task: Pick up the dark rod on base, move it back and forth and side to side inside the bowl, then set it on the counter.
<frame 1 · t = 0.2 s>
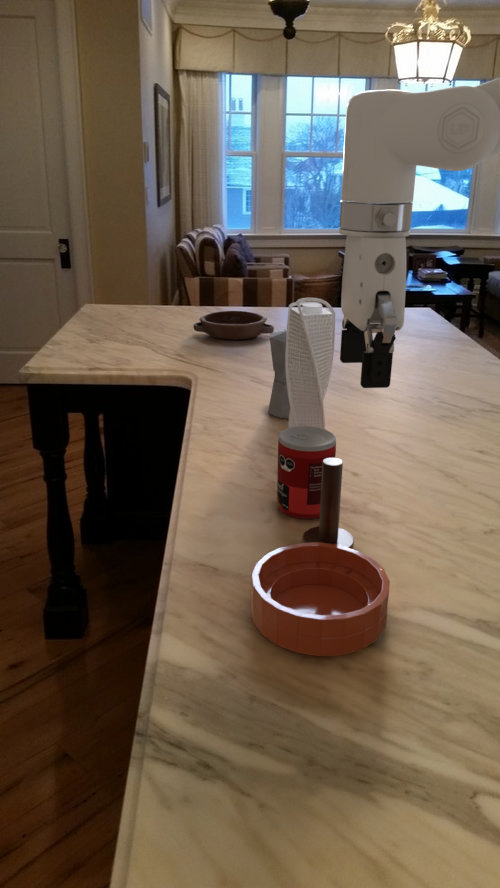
hand: (363, 373, 82), 23 cm above the kitchen island, tool pointing down, fingers open, 9 cm apart
skyscraper: (304, 471, 113), on the kitchen island
bowl: (318, 616, 77), on the kitchen island
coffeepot: (292, 414, 137), on the kitchen island
dark rod on base: (327, 555, 89), on the kitchen island
dish: (233, 335, 194), on the kitchen island
canned food: (304, 508, 101), on the kitchen island
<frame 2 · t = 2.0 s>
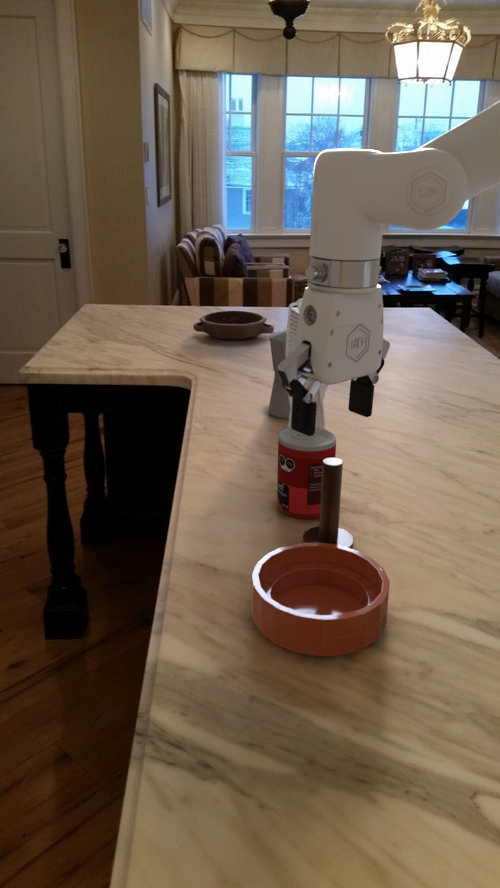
hand: (332, 422, 82), 18 cm above the kitchen island, tool pointing down, fingers open, 9 cm apart
nothing on the kitchen island moved.
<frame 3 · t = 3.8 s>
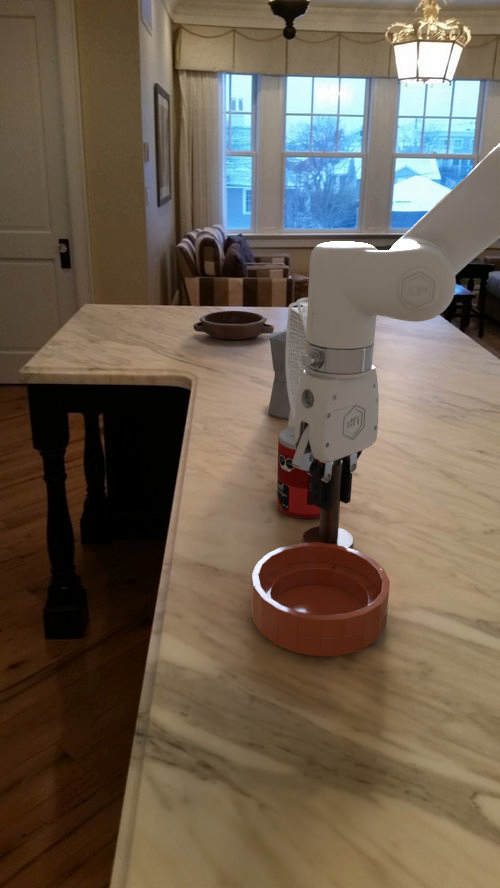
hand: (330, 501, 86), 8 cm above the kitchen island, tool pointing down, fingers closed on dark rod on base, 2 cm apart
dark rod on base: (327, 555, 89), on the kitchen island, touching gripper
everything else where it was.
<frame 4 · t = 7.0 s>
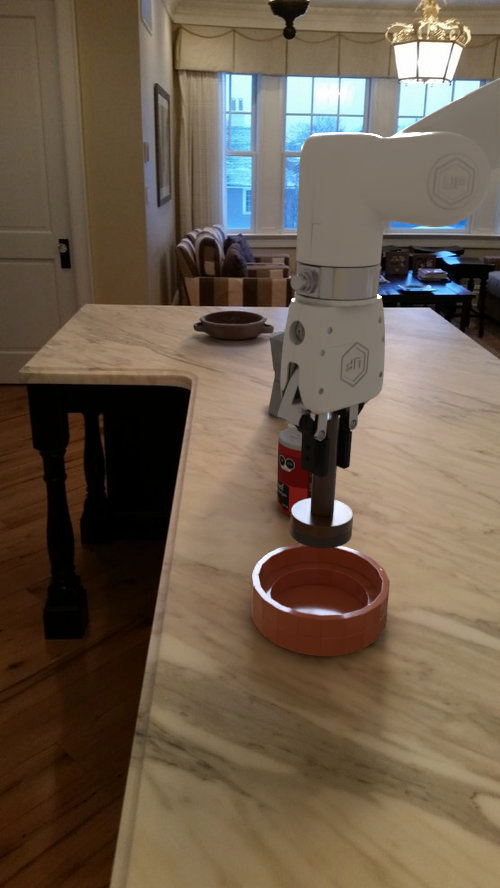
hand: (325, 466, 70), 18 cm above the kitchen island, tool pointing down, fingers closed on dark rod on base, 2 cm apart
dark rod on base: (320, 532, 73), point 10 cm above the kitchen island, touching gripper
everything else where it was.
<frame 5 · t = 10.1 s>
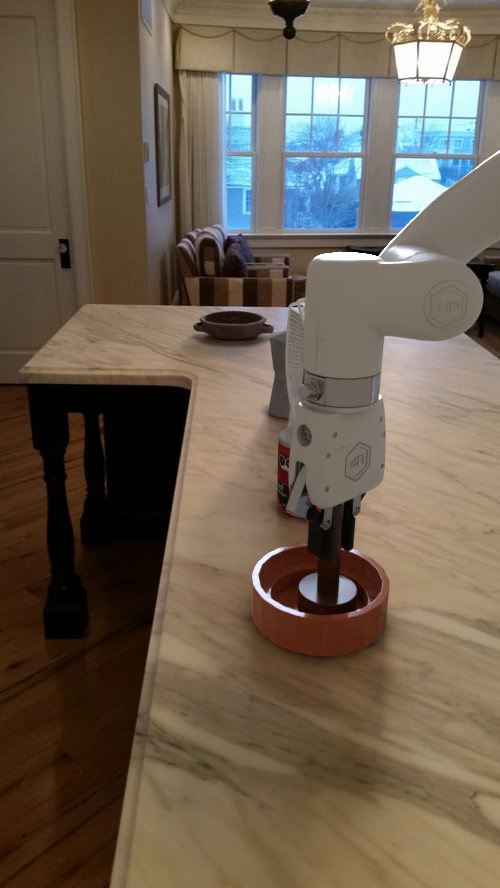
hand: (330, 549, 75), 8 cm above the kitchen island, tool pointing down, fingers closed on dark rod on base, 2 cm apart
dark rod on base: (326, 606, 78), point 1 cm above the kitchen island, touching gripper
everything else where it was.
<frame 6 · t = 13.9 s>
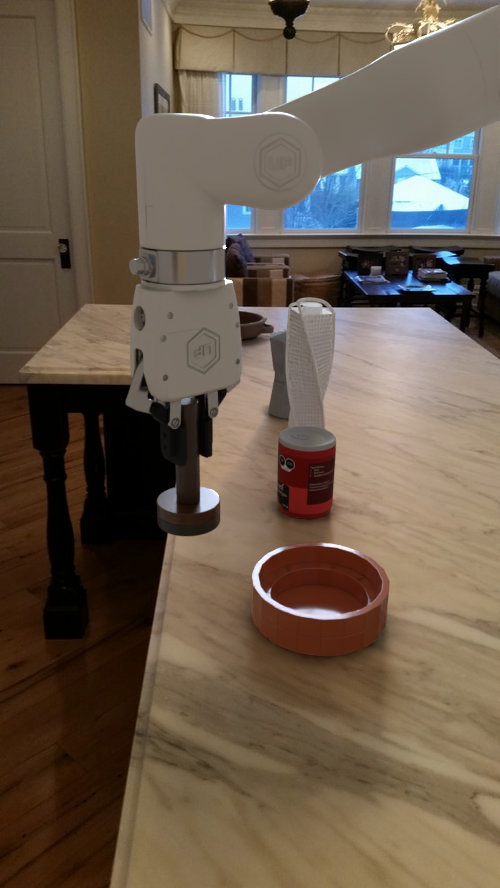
hand: (187, 455, 69), 19 cm above the kitchen island, tool pointing down, fingers closed on dark rod on base, 2 cm apart
dark rod on base: (189, 521, 72), point 12 cm above the kitchen island, touching gripper
everything else where it was.
when the fingers open (7 cm above the kitchen island, at t = 16.7 s): dark rod on base stays where it is, on the kitchen island.
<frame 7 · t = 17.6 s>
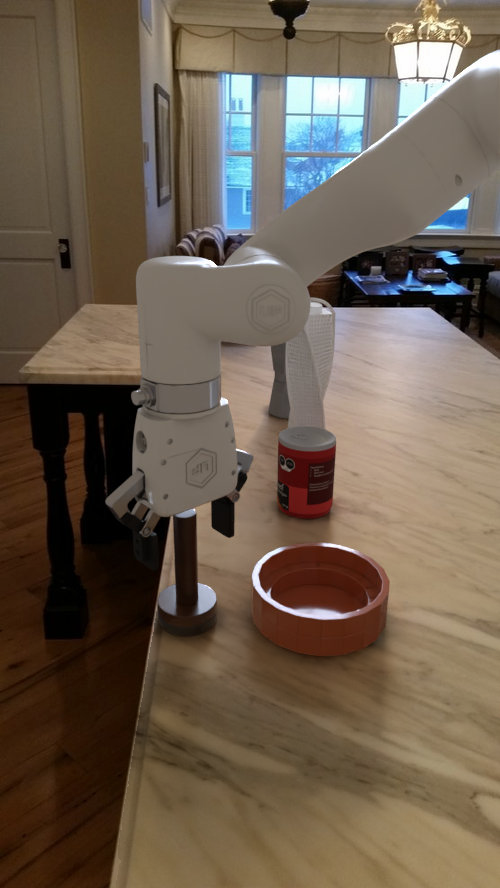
hand: (186, 547, 73), 9 cm above the kitchen island, tool pointing down, fingers open, 9 cm apart
dark rod on base: (187, 617, 77), on the kitchen island
everything else where it was.
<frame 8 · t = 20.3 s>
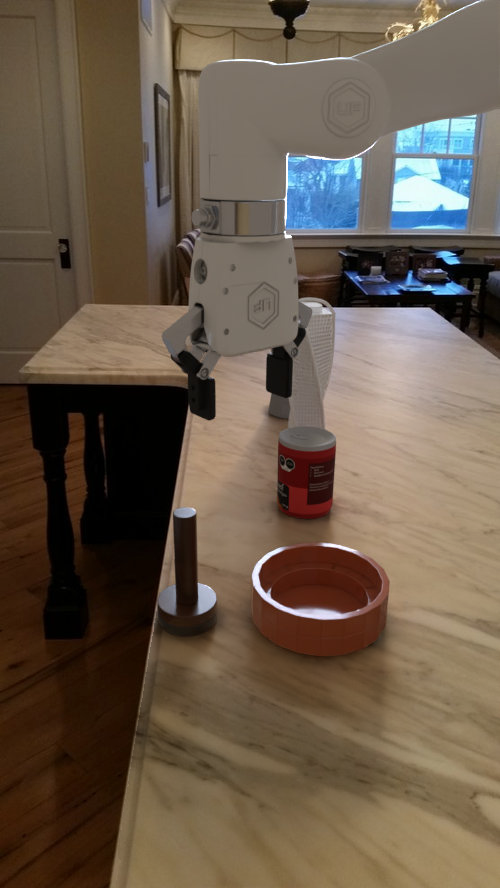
hand: (242, 404, 68), 24 cm above the kitchen island, tool pointing down, fingers open, 9 cm apart
nothing on the kitchen island moved.
at the end: dark rod on base inside the target area (0.1 cm from its centre), on the kitchen island; dark rod on base tilted 0°; bowl moved 0.0 cm from its start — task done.
